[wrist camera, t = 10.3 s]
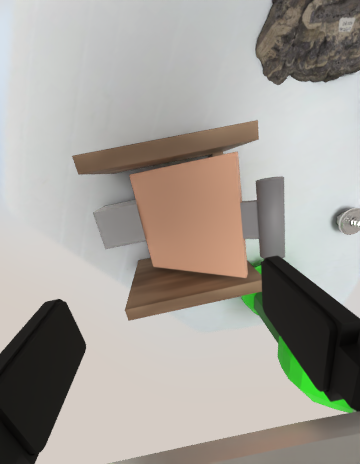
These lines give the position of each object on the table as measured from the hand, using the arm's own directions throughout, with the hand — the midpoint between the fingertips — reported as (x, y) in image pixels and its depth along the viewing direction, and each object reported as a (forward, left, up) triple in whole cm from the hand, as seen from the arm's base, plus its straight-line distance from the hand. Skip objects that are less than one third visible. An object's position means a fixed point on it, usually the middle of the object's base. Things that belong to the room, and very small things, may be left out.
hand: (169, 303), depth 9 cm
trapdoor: (+1, +5, -15) cm, 16 cm away
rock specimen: (-22, +27, -25) cm, 42 cm away
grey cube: (0, -3, -21) cm, 22 cm away
